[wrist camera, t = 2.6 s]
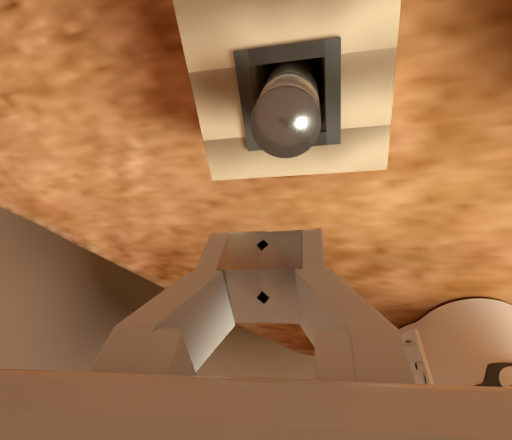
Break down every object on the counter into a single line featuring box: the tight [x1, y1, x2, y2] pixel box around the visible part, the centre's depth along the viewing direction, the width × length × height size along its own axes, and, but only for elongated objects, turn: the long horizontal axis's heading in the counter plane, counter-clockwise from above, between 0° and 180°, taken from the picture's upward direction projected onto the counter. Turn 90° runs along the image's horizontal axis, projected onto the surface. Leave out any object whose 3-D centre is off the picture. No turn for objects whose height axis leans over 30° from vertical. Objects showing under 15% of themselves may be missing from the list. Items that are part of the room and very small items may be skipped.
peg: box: [250, 60, 321, 158], centre depth 23 cm, size 4×4×10 cm
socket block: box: [172, 0, 401, 181], centre depth 25 cm, size 22×14×10 cm, turn 7°
